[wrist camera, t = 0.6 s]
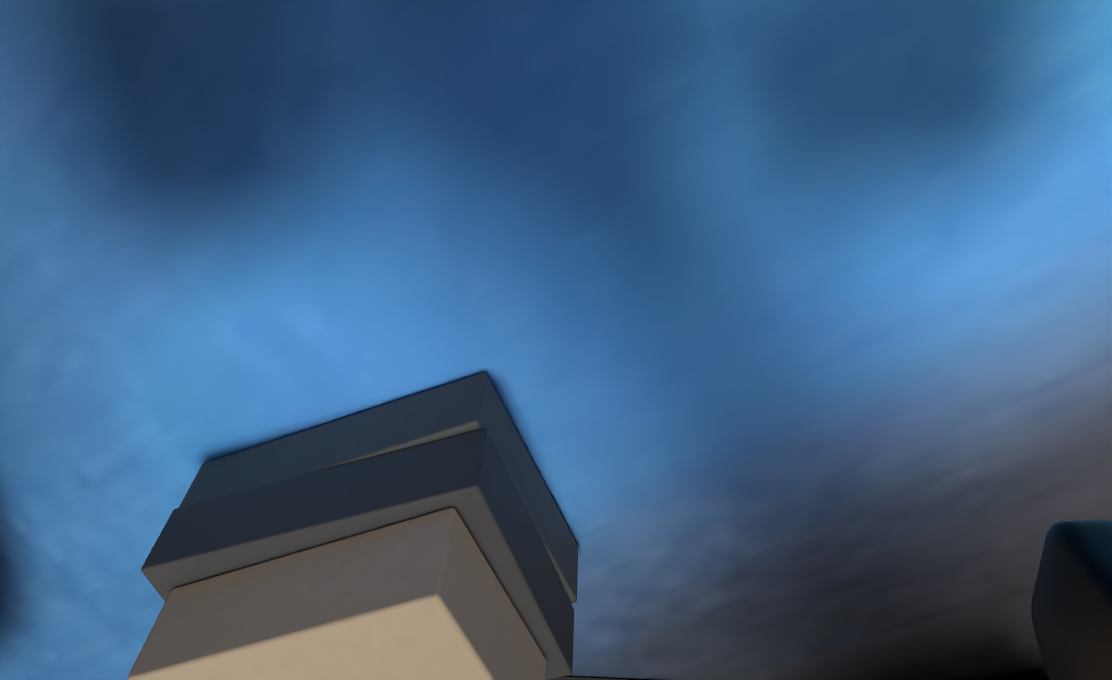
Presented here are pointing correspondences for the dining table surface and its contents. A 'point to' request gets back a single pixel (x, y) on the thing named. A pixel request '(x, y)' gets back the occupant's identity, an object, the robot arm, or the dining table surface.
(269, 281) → the dining table surface
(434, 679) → the taupe flat block
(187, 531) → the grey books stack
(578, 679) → the perfume bottle
